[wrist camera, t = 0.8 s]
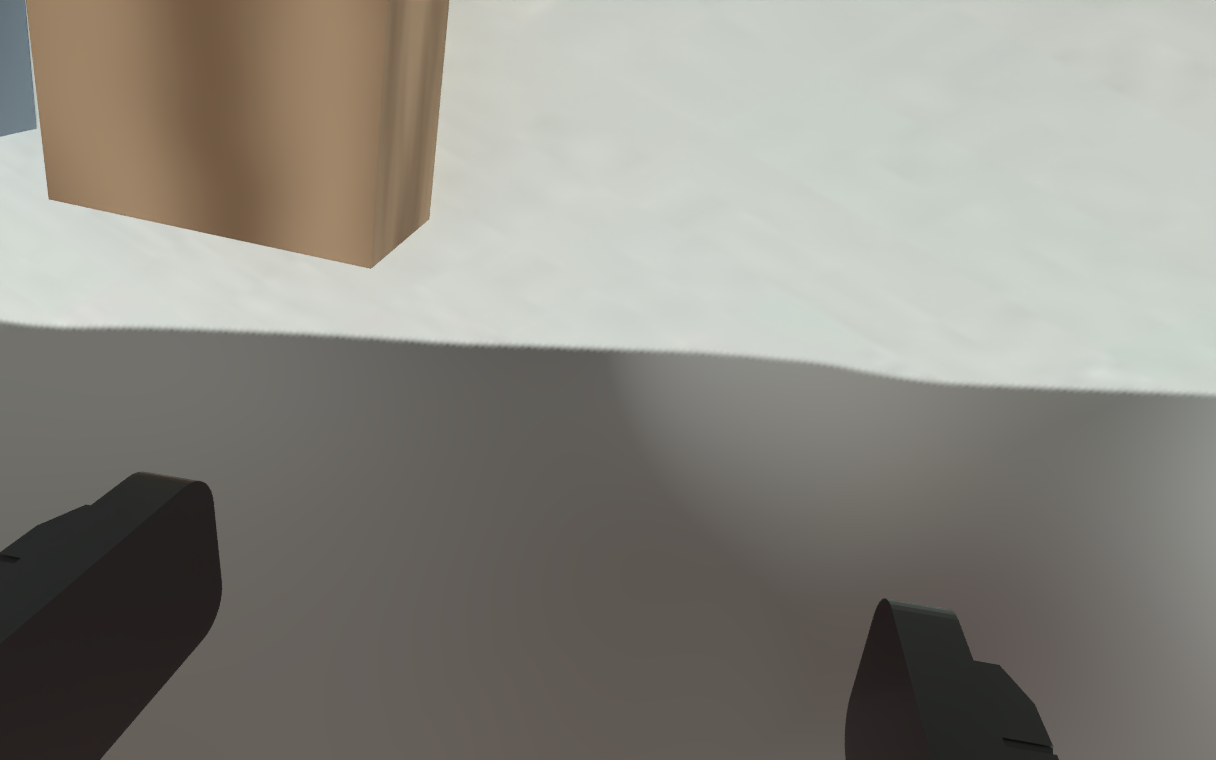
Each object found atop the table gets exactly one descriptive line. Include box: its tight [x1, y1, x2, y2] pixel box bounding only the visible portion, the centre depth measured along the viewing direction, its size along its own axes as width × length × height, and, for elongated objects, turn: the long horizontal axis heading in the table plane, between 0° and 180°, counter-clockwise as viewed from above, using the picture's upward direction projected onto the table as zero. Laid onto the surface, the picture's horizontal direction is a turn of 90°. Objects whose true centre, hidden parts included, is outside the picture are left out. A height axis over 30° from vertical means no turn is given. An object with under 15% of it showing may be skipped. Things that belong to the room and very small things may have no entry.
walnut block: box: [26, 0, 449, 269], centre depth 26 cm, size 10×10×6 cm
